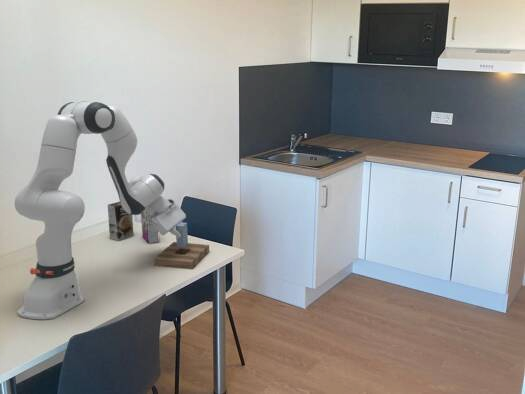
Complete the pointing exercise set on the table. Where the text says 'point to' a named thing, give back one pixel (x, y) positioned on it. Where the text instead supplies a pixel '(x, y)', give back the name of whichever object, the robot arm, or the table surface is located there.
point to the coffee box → (119, 222)
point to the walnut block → (181, 255)
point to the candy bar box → (148, 228)
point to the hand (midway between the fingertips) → (183, 234)
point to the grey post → (183, 230)
